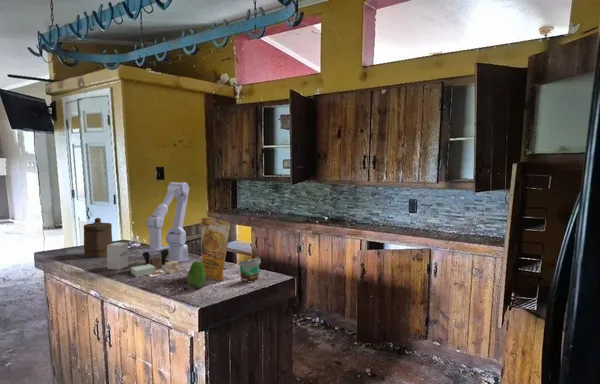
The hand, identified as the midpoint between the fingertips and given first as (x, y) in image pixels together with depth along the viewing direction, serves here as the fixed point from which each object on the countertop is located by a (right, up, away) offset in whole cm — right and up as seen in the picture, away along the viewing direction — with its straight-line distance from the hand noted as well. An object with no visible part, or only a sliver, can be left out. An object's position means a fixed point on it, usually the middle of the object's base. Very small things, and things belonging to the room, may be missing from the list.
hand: (155, 265), depth 192 cm
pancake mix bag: (+33, -3, -14) cm, 36 cm away
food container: (+53, -3, -19) cm, 56 cm away
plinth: (-2, -2, -10) cm, 10 cm away
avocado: (+30, -4, -30) cm, 42 cm away
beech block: (+11, -2, -7) cm, 13 cm away
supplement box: (-20, -1, +1) cm, 20 cm away
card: (+4, -2, -10) cm, 11 cm away
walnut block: (0, -2, 0) cm, 2 cm away
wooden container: (-45, +1, +28) cm, 53 cm away
